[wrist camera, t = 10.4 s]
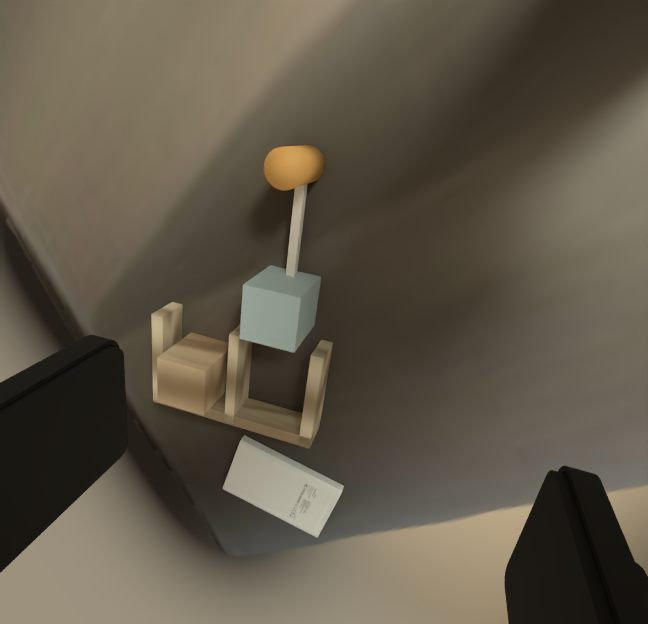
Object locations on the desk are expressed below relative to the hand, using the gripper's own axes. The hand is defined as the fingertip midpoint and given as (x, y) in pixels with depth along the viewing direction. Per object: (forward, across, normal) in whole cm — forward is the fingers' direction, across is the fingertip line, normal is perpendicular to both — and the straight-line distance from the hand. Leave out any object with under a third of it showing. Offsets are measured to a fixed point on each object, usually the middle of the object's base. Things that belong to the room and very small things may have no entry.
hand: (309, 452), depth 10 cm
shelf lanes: (+30, +14, +18) cm, 38 cm away
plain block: (+30, +18, +18) cm, 40 cm away
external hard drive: (+31, +8, +32) cm, 46 cm away
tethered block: (+30, +10, +4) cm, 32 cm away
